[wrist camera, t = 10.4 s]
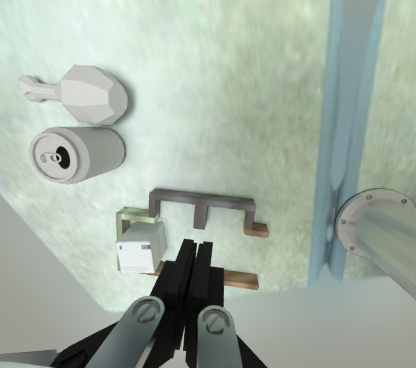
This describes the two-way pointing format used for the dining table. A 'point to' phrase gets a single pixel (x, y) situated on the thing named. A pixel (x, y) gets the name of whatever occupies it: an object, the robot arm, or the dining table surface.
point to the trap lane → (196, 223)
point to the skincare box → (141, 247)
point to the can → (75, 153)
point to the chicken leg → (82, 94)
